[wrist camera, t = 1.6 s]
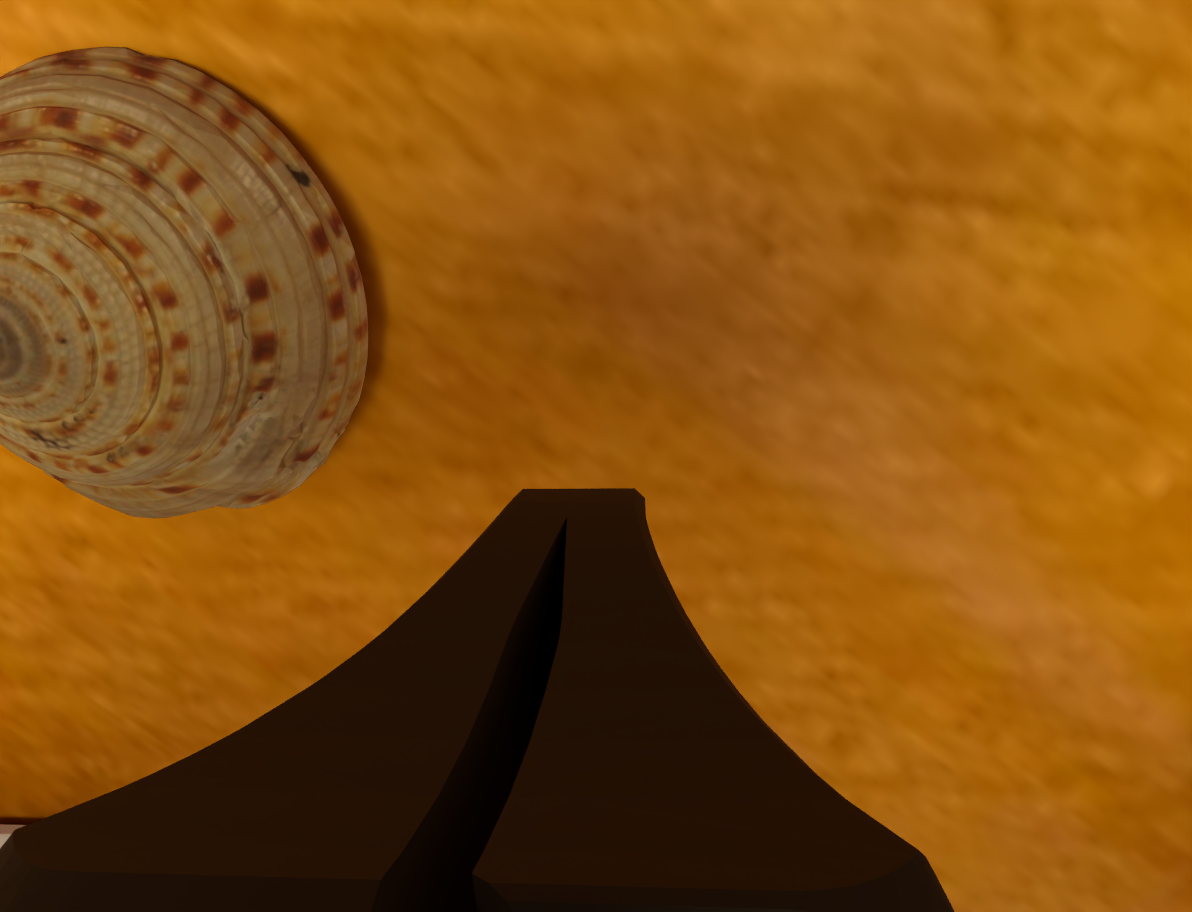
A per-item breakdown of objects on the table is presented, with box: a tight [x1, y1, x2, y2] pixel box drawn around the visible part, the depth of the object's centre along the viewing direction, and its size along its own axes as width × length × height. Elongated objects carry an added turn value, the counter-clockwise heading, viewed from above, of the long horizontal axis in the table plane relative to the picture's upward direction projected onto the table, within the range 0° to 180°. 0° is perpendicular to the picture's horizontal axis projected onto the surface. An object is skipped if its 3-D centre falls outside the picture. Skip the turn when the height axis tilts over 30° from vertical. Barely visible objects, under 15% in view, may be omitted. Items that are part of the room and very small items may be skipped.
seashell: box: [0, 47, 368, 518], centre depth 21 cm, size 8×6×8 cm
